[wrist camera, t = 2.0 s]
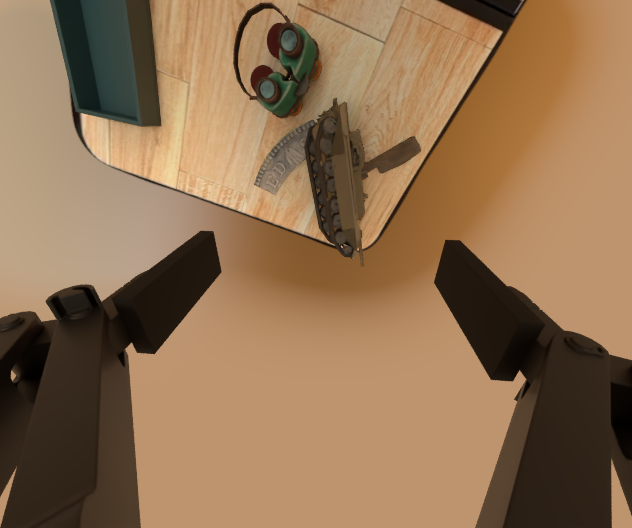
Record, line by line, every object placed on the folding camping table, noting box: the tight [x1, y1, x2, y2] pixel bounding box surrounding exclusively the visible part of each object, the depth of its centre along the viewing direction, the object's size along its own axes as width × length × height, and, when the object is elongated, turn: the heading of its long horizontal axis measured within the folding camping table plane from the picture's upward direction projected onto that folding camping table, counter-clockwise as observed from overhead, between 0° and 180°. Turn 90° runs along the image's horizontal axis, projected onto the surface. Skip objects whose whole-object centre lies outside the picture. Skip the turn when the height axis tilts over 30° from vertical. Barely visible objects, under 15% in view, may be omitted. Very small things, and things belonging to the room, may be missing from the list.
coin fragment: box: [254, 120, 315, 195], centre depth 37 cm, size 13×5×1 cm, turn 132°
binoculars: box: [233, 3, 321, 118], centre depth 28 cm, size 9×11×10 cm
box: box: [50, 0, 161, 126], centre depth 30 cm, size 20×9×4 cm, turn 169°
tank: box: [304, 98, 392, 266], centre depth 35 cm, size 9×22×10 cm
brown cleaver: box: [361, 137, 421, 180], centre depth 36 cm, size 12×3×1 cm, turn 120°
